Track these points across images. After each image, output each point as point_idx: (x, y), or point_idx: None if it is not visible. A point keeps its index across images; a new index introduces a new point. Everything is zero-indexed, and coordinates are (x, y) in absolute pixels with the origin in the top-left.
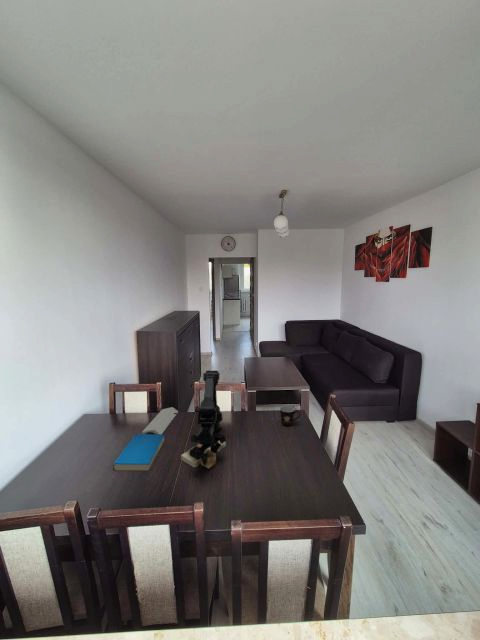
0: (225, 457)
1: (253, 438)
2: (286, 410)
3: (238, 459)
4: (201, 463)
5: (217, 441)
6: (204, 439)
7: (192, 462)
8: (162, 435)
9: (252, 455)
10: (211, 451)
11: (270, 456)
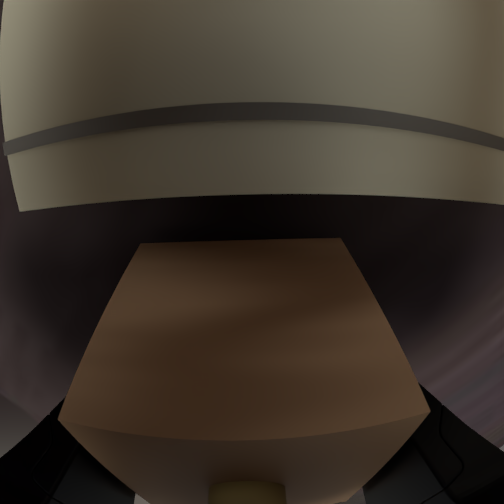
0: (466, 316)
1: None
2: None
3: (456, 386)
4: (135, 266)
5: None
6: None
7: (12, 140)
8: None
9: (496, 393)
10: (380, 467)
11: (488, 424)
